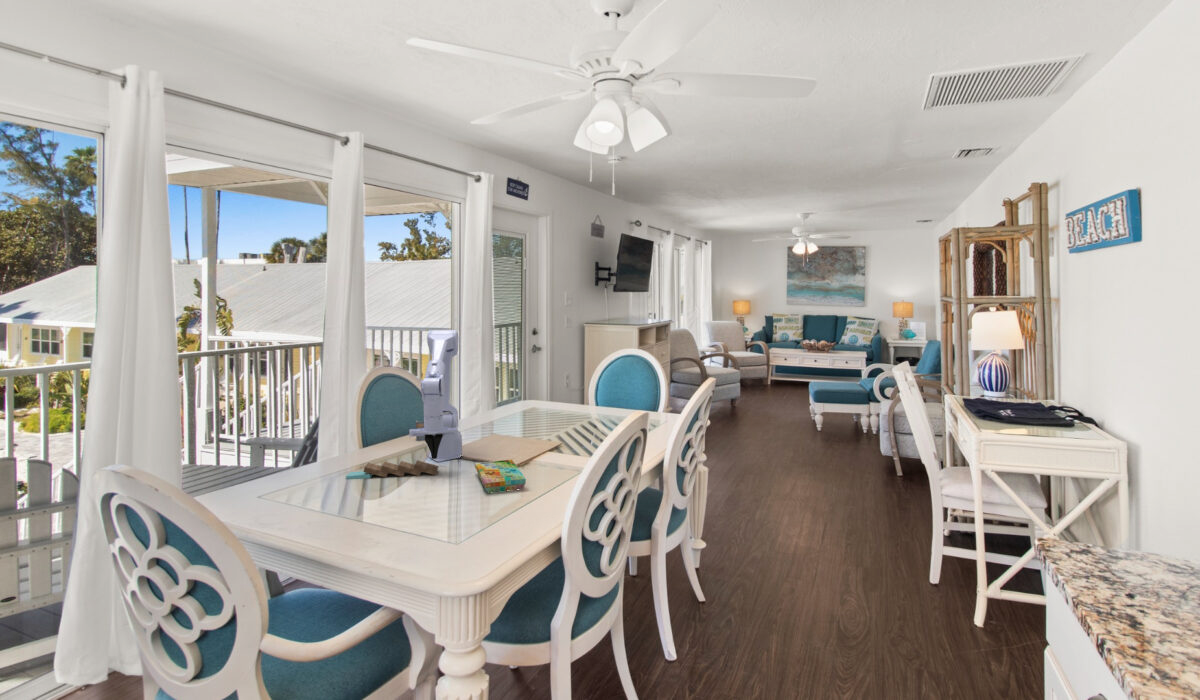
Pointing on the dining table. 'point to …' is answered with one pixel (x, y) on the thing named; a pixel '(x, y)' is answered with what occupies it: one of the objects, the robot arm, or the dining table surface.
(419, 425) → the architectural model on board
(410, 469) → the domino
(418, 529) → the dining table surface
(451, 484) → the dining table surface
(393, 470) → the domino
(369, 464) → the domino
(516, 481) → the puzzle game
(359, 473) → the domino
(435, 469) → the domino
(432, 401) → the robot arm
